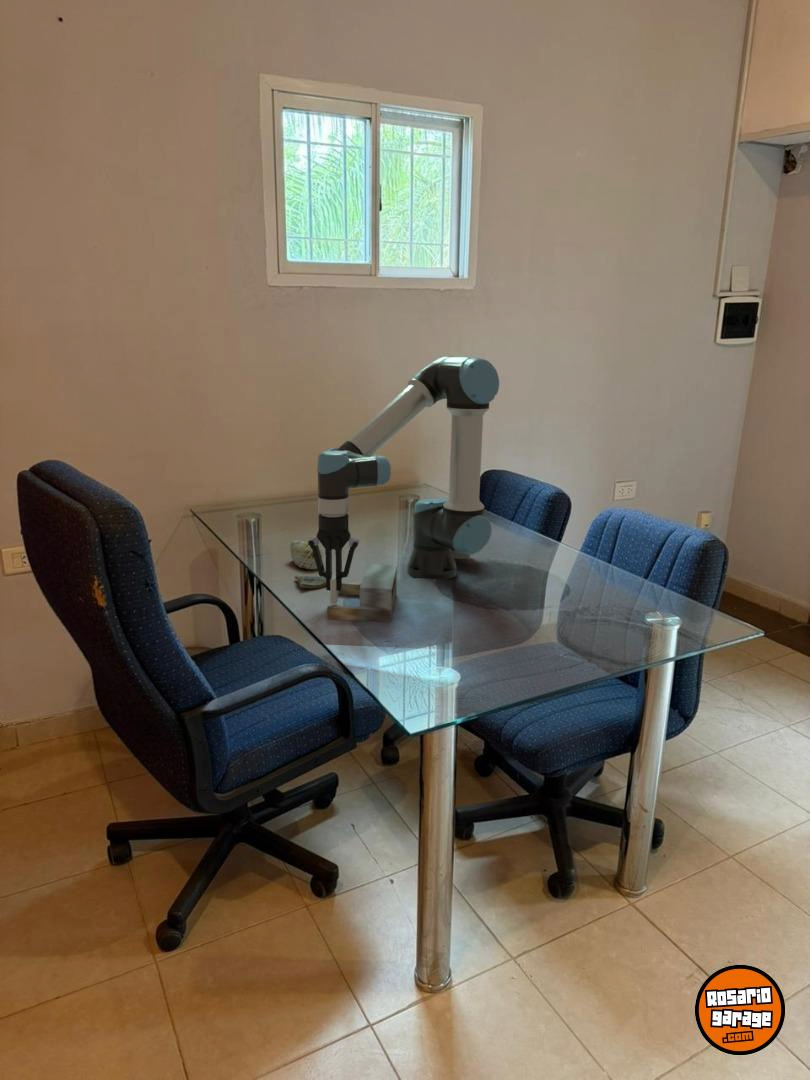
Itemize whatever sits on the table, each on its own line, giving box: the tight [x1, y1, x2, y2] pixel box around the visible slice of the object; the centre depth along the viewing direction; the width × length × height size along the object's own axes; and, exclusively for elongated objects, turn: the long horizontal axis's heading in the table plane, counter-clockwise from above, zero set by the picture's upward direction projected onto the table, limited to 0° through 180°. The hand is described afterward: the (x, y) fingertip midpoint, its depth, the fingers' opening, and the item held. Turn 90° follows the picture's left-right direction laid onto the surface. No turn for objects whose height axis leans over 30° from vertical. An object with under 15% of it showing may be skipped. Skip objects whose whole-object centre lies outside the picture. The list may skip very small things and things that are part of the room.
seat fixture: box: [326, 563, 398, 623], centre depth 192 cm, size 16×19×8 cm
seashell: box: [290, 540, 323, 570], centre depth 224 cm, size 10×10×10 cm
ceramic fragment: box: [294, 575, 326, 589], centre depth 209 cm, size 11×3×10 cm
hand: (334, 601), depth 194 cm, fingers closed
